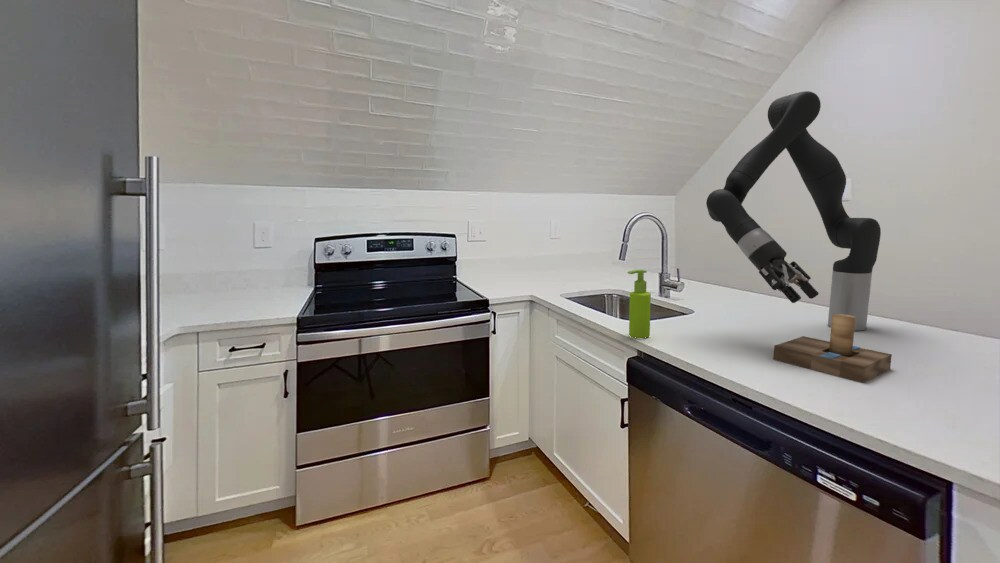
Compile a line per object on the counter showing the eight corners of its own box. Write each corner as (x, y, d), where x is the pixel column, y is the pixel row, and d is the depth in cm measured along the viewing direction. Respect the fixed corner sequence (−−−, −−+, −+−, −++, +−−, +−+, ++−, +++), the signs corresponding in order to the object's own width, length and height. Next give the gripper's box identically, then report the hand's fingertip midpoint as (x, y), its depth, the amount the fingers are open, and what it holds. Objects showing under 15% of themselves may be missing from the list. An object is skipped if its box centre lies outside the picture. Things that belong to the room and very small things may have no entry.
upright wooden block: (832, 362, 103) (837, 313, 101) (853, 367, 99) (859, 316, 97) (824, 365, 101) (828, 315, 99) (845, 370, 97) (850, 319, 95)
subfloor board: (802, 349, 113) (803, 335, 112) (890, 369, 97) (891, 353, 97) (773, 359, 106) (774, 344, 105) (862, 382, 90) (864, 365, 90)
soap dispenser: (622, 334, 130) (623, 269, 127) (641, 332, 132) (643, 268, 129) (633, 340, 125) (634, 272, 122) (653, 337, 127) (655, 270, 124)
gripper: (756, 241, 106) (804, 293, 98) (786, 237, 113) (834, 286, 105) (734, 260, 112) (778, 311, 104) (764, 256, 119) (808, 303, 111)
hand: (806, 298), depth 104 cm, fingers open, 8 cm apart
